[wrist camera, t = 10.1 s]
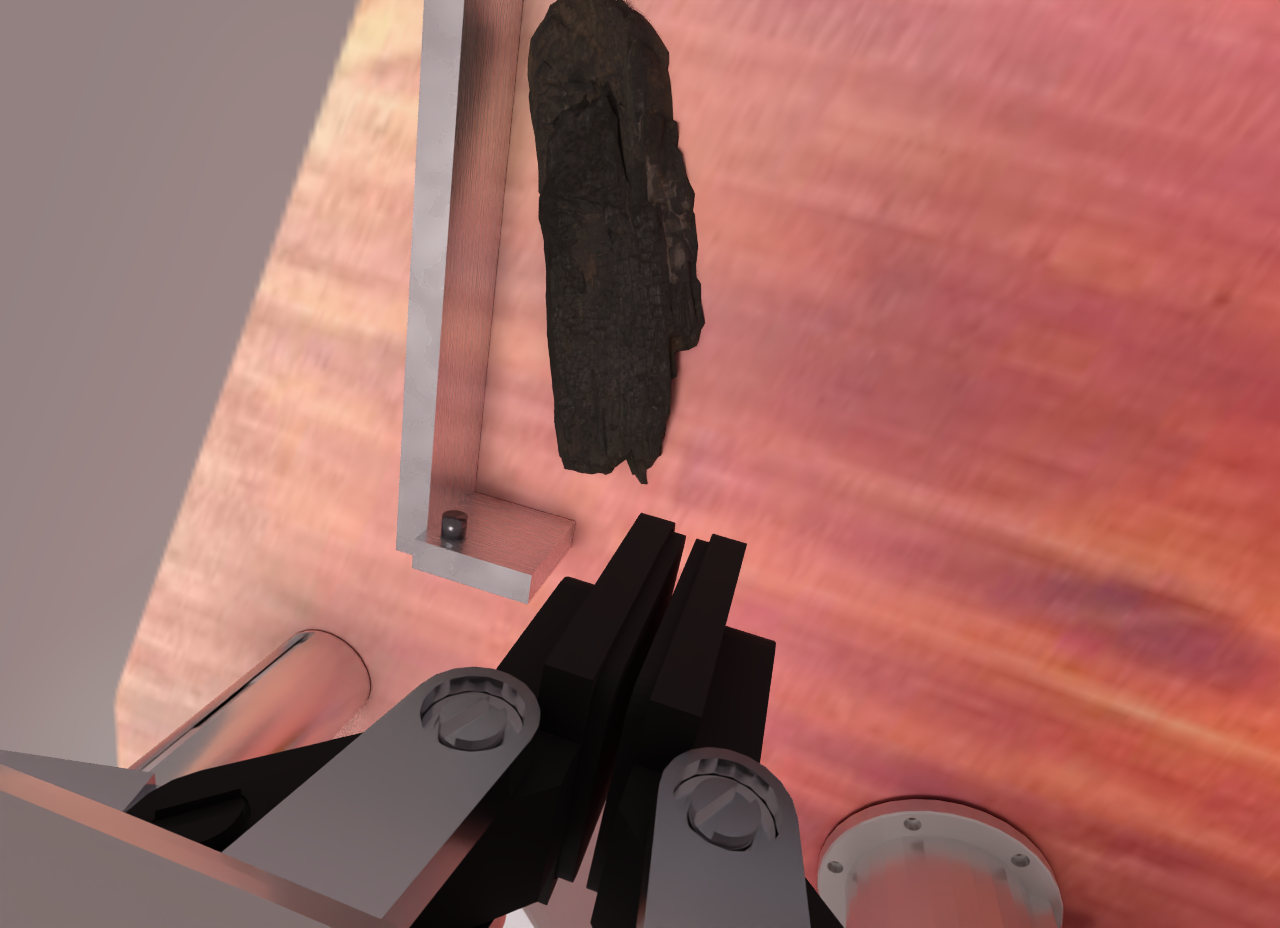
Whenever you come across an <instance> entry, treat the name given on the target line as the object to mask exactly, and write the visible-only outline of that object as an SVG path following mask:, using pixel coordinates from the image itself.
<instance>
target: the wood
mask: <svg viewBox="0 0 1280 928" xmlns="http://www.w3.org/2000/svg"><path fill="white" fill-rule="evenodd" d="M668 58H669V52H668V50H667V49H666V47H665V45H664V44H663V42H662V41H661V39H660V38H659V36H658V35H657V33H656V32H655V30H654V29H653V27H652V26H651V25H650V23H649V22H648V21H647V20H646V19H645V18H644V17H643V16H642V15H641V14H639V13H638V12H636V11H634V10H632V9H630V8H629V7H628V6H627V5H626V3H625V2H624V1H623V0H617V1H616V0H557V1H556V2H554V3H553V4H551V5H550V7H549V9H548V11H547V14H546V16H545V18H544V20H543V21H542V22H541V23H540V25H539V26H538V28H537V30H536V31H535V33H534V35H533V36H532V38H531V42H530V49H529V57H528V81H529V89H530V92H529V104H530V112H531V119H532V124H533V129H534V134H535V142H536V151H537V160H538V170H539V193H540V197H539V221H540V225H541V229H542V234H543V239H544V253H545V261H546V308H547V338H548V348H549V357H550V367H551V376H552V388H553V395H554V423H555V429H556V436H557V442H558V451H559V455H560V457H561V458H562V462H563V465H564V468H565V469H568V470H574V471H577V472H580V473H587V474H596V473H603V474H605V475H606V474H609V473H611V472H612V471H613V469H614V466H615V467H616V466H618V465H619V464H620V463H622V462H623V461H624V460H627V462H628V465H629V467H630V470H631V472H632V475H634V474H635V475H636V477H637V478H638V480H639V481H640V483H641V484H647V480H646V474H645V470H646V469H648V468H650V467H651V466H652V465H653V463H654V461H655V460H656V459H657V458H658V457H659V456H661V447H662V446H661V443H662V441H663V438H664V436H665V430H666V421H667V418H668V416H669V413H670V401H671V379H673V378H675V377H677V370H676V361H675V352H677V351H683V350H689V349H691V348H693V347H695V346H697V343H698V339H699V335H700V332H701V329H702V327H703V326H704V324H705V322H704V316H703V311H702V306H701V284H700V282H699V280H698V279H697V277H696V260H697V251H698V242H697V235H696V227H695V214H694V212H693V207H694V197H695V193H694V190H693V189H692V187H691V185H690V183H689V180H688V178H687V175H686V172H685V168H684V163H683V159H682V154H681V152H680V150H679V149H678V132H677V124H676V121H674V120H673V113H672V97H671V88H670V79H669V73H668ZM612 468H613V469H612Z"/></svg>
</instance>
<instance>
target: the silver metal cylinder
mask: <svg viewBox="0 0 1280 928" xmlns="http://www.w3.org/2000/svg"><path fill="white" fill-rule="evenodd" d="M369 692H370V680H369V676H368V673H367V669H366V667H365V666H364V664H363V662H362V660H361V658H360V657H359V656H358V655H357V654H356V652H355V651H354V650H353V649H352V648H351V647H350V646H349V645H347V644H346V643H345V642H344V641H342V640H341V639H339V638H337V637H335V636H333V635H332V634H329V633H325V632H322V631H315V630H307V631H303V632H300V633H297V634H296V635H294V636H293V637H291V638H290V639H289V640H287V641H286V642H285V643H284V644H282V645H281V646H280V647H279V648H277V649H276V650H275V651H274V652H272V653H271V654H270V655H269V656H267V657H266V658H265V659H264V660H263V661H261V662H260V663H259V664H258V665H256V666H255V667H254V668H253V669H251V670H250V671H249V672H248V673H246V674H245V675H244V676H243V677H241V678H240V679H239V680H238V681H236V682H235V683H234V684H233V685H231V686H230V687H229V688H228V689H226V690H225V691H224V692H223V693H221V694H220V695H219V696H218V697H216V698H215V699H214V700H213V701H211V702H210V703H209V704H208V705H206V706H205V707H204V708H203V709H201V710H200V711H199V712H198V713H196V714H195V715H194V716H193V717H191V718H190V719H189V720H188V721H186V722H185V723H184V724H183V725H181V726H180V727H179V728H178V729H176V730H175V731H174V732H173V733H171V734H170V735H169V736H168V737H166V738H165V739H164V740H163V741H161V742H160V743H159V744H158V745H157V746H155V747H154V748H153V749H152V750H150V751H149V752H148V753H147V754H145V755H144V756H143V757H142V758H140V759H139V760H138V761H137V762H135V763H134V764H133V765H132V766H130V767H129V768H128V769H132V770H139V771H145V772H152V773H155V780H156V785H160V786H162V785H164V784H166V783H168V782H170V781H171V780H173V779H176V778H179V777H182V776H185V775H188V774H191V773H194V772H197V771H200V770H204V769H209V768H213V767H217V766H222V765H226V764H230V763H235V762H239V761H243V760H247V759H252V758H256V757H260V756H265V755H269V754H273V753H277V752H282V751H286V750H290V749H295V748H299V747H303V746H307V745H312V744H316V743H320V742H325V741H329V740H332V739H333V737H334V736H335V735H336V734H337V733H338V732H339V731H340V730H341V729H342V728H343V727H344V726H345V725H346V724H347V723H348V721H349V720H350V719H351V718H352V717H353V716H354V715H355V714H356V713H357V712H358V711H359V710H360V709H361V708H362V706H363V705H364V704H365V702H366V701H367V699H368V696H369Z"/></svg>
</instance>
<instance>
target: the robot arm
mask: <svg viewBox="0 0 1280 928" xmlns="http://www.w3.org/2000/svg"><path fill="white" fill-rule="evenodd" d="M674 531H675V523H674V522H671V521H668V520H664V519H661V518H657V517H654V516H650V515H647V514H644V513H641V514H640V515H639V516H638V518H637V519H636V521H635V523H634V524H633V526H632V527H631V529H630V530H629V532H628V533H627V535H626V537H625V538H624V540H623V541H622V543H621V544H620V546H619V548H618V549H617V551H616V552H615V554H614V555H613V557H612V558H611V560H610V562H609V563H608V565H607V566H606V568H605V569H604V571H603V573H602V574H601V576H600V577H599V579H598V580H597V582H596V583H595V585H594V584H591V583H587V582H584V581H581V580H578V579H575V578H571V577H565V578H564V579H563V580H562V581H561V582H560V583H559V585H558V586H557V587H556V589H555V590H554V591H553V593H552V594H551V595H550V597H549V598H548V600H547V601H546V602H545V604H544V605H543V606H542V608H541V609H540V610H539V612H538V613H537V614H536V616H535V617H534V619H533V620H532V621H531V623H530V624H529V625H528V627H527V628H526V629H525V631H524V632H523V633H522V635H521V636H520V638H519V639H518V640H517V642H516V643H515V644H514V646H513V647H512V648H511V650H510V651H509V652H508V654H507V655H506V657H505V658H504V659H503V661H502V662H501V663H500V665H499V666H498V667H497V669H496V670H495V669H491V668H482V667H465V668H455V669H452V670H448V671H445V672H442V673H439V674H436V675H435V676H433V677H431V678H430V679H428V680H427V681H425V682H423V683H422V684H420V685H419V686H418V687H417V688H416V689H414V690H413V691H412V692H411V693H410V694H408V695H407V696H406V697H405V698H404V699H403V700H401V701H400V702H399V703H398V704H397V705H395V706H394V707H393V708H392V709H391V710H390V711H388V712H387V713H386V714H385V715H384V716H382V717H381V718H380V719H379V720H378V721H377V722H375V723H374V724H373V725H372V726H371V727H369V728H368V729H367V730H366V731H365V732H363V733H359V734H355V735H350V736H346V737H342V738H338V739H333V740H329V741H325V742H320V743H316V744H312V745H307V746H303V747H299V748H295V749H290V750H286V751H282V752H277V753H273V754H269V755H265V756H260V757H256V758H252V759H247V760H243V761H239V762H235V763H230V764H226V765H222V766H217V767H213V768H209V769H204V770H200V771H197V772H194V773H191V774H188V775H185V776H182V777H179V778H176V779H173V780H171V781H170V782H168V783H166V784H164V785H162V786H160V785H156V780H155V773H152V772H145V771H139V770H132V769H125V768H119V767H112V766H105V765H98V764H91V763H85V762H79V761H72V760H64V759H58V758H52V757H45V756H39V755H32V754H25V753H19V752H11V751H5V750H0V928H503V926H504V924H505V920H506V914H509V913H511V912H514V911H516V910H519V909H521V908H524V907H526V906H529V905H531V904H534V903H536V902H539V903H542V904H544V905H548V902H549V900H550V897H551V895H552V893H553V890H554V888H555V885H556V883H557V880H558V878H561V879H564V880H566V881H569V882H571V883H573V882H574V880H575V878H576V876H577V873H578V871H579V868H580V866H581V863H582V861H583V858H584V855H585V853H586V850H587V848H588V845H589V843H590V840H591V837H592V835H593V832H594V830H595V827H596V824H597V822H598V819H599V817H600V814H601V812H602V809H603V806H604V804H605V807H604V811H603V816H602V820H601V824H600V828H599V833H598V837H597V841H596V846H595V850H594V854H593V859H592V863H591V867H590V872H589V876H588V880H587V885H586V888H587V889H589V890H592V891H594V892H597V896H596V901H595V905H594V909H593V913H592V917H591V921H590V924H591V926H592V928H1061V927H1062V924H1063V903H1062V899H1061V894H1060V890H1059V887H1058V884H1057V882H1056V879H1055V876H1054V874H1053V871H1052V868H1051V867H1050V865H1049V864H1048V862H1047V861H1046V859H1045V858H1044V856H1043V855H1042V853H1041V851H1040V850H1039V849H1038V848H1037V847H1036V846H1035V845H1034V844H1033V843H1032V842H1031V841H1030V840H1029V839H1028V838H1027V837H1026V836H1024V835H1023V834H1022V833H1020V832H1019V831H1017V830H1016V829H1014V828H1013V827H1012V826H1010V825H1009V824H1007V823H1006V822H1004V821H1002V820H1000V819H998V818H996V817H994V816H992V815H990V814H988V813H986V812H983V811H980V810H977V809H974V808H971V807H968V806H965V805H962V804H956V803H951V802H945V801H940V800H924V799H909V800H899V801H890V802H886V803H883V804H879V805H875V806H871V807H869V808H866V809H864V810H862V811H860V812H858V813H856V814H854V815H852V816H850V817H849V818H848V819H846V820H845V821H844V822H842V823H841V824H840V825H838V826H837V827H836V828H835V830H834V831H833V832H832V833H831V834H830V836H829V837H828V838H827V839H826V841H825V844H824V846H823V848H822V850H821V852H820V856H819V862H818V867H817V888H818V893H819V894H818V893H817V892H816V891H815V889H814V888H813V887H812V885H811V884H810V883H809V881H808V880H807V879H806V878H805V875H804V866H803V858H802V849H801V841H800V833H799V824H798V817H797V814H796V810H795V807H794V803H793V800H792V798H791V797H790V795H789V793H788V792H787V790H786V789H785V787H784V786H783V784H782V783H781V781H780V780H779V779H777V778H776V777H775V776H774V775H773V774H772V773H771V772H770V771H769V770H768V769H767V768H766V767H764V766H763V765H761V764H760V758H761V751H762V744H763V736H764V729H765V722H766V714H767V707H768V700H769V692H770V685H771V678H772V670H773V663H774V656H775V647H776V642H775V641H772V640H769V639H766V638H763V637H760V636H756V635H753V634H750V633H747V632H744V631H740V630H737V629H734V628H731V627H728V626H725V625H726V622H727V618H728V614H729V610H730V606H731V603H732V599H733V595H734V591H735V588H736V584H737V580H738V576H739V572H740V569H741V565H742V561H743V557H744V553H745V550H746V546H747V544H746V543H743V542H740V541H736V540H733V539H729V538H726V537H722V536H719V535H716V534H712V536H711V539H710V541H709V542H706V541H703V540H699V539H696V541H695V543H694V545H693V548H692V550H691V552H690V555H689V557H688V560H687V562H686V564H685V567H684V569H683V571H682V574H681V576H680V579H679V581H678V583H677V586H676V588H675V590H674V593H673V589H674V585H675V581H676V577H677V573H678V569H679V565H680V561H681V557H682V552H683V548H684V544H685V539H686V535H682V534H679V533H676V532H674ZM672 593H673V595H672ZM605 801H606V803H605Z"/></svg>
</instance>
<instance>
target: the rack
mask: <svg viewBox="0 0 1280 928" xmlns="http://www.w3.org/2000/svg"><path fill="white" fill-rule="evenodd" d="M522 6H523V0H424V13H423V32H422V52H421V72H420V91H419V111H418V130H417V150H416V169H415V189H414V208H413V228H412V247H411V267H410V286H409V306H408V325H407V345H406V365H405V384H404V404H403V423H402V443H401V462H400V482H399V501H398V521H397V540H396V550H398V551H401V552H404V553H407V554H411V555H413V562H412V568H414V569H417V570H420V571H423V572H426V573H430V574H433V575H436V576H439V577H442V578H446V579H449V580H452V581H455V582H458V583H461V584H465V585H468V586H471V587H474V588H477V589H480V590H484V591H487V592H490V593H493V594H496V595H500V596H503V597H506V598H509V599H512V600H515V601H519V602H522V603H525V604H528V603H529V602H530V601H531V599H532V598H533V597H534V595H535V594H536V593H537V591H538V590H539V589H540V588H541V586H542V585H543V584H544V582H545V581H546V580H547V578H548V577H549V576H550V574H551V573H552V572H553V570H554V569H555V568H556V567H557V565H558V564H559V563H560V561H561V560H562V559H563V557H564V556H565V555H566V553H567V552H568V551H569V549H570V548H571V546H572V540H573V534H574V527H575V521H572V520H569V519H566V518H562V517H559V516H555V515H552V514H548V513H545V512H541V511H538V510H535V509H531V508H528V507H524V506H521V505H517V504H514V503H510V502H507V501H504V500H500V499H497V498H493V497H490V496H486V495H483V494H479V493H476V492H475V485H476V475H477V465H478V455H479V445H480V434H481V424H482V414H483V404H484V394H485V383H486V373H487V363H488V353H489V343H490V332H491V322H492V312H493V302H494V292H495V281H496V271H497V261H498V251H499V241H500V230H501V220H502V210H503V200H504V190H505V179H506V169H507V159H508V149H509V139H510V128H511V118H512V108H513V98H514V88H515V77H516V67H517V57H518V47H519V37H520V26H521V16H522Z"/></svg>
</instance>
